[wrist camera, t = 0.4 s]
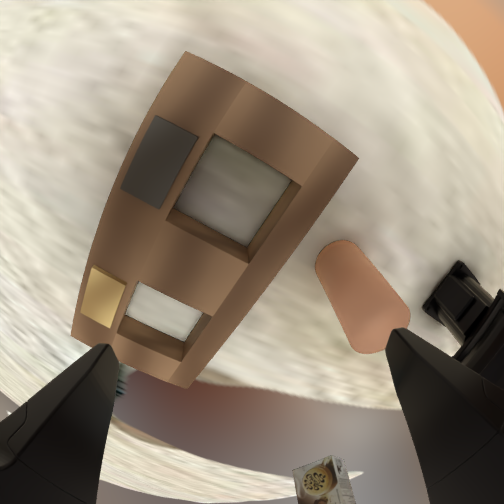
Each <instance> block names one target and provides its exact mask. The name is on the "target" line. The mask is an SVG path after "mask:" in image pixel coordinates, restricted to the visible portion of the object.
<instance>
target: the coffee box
mask: <svg viewBox="0 0 504 504" xmlns="http://www.w3.org/2000/svg"><path fill="white" fill-rule="evenodd" d="M292 471H293V476H294V482H295V488H296V494H297V499H298V504H356V502H355V499H354V495H353V491H352V487H351V484H350V480H349V476H348V473H347V469H346V465H345V462H344V459H341V458H338V457H335V456H332V455H330V456H328V457H326V458H323V459H321V460H318V461H316V462H313V463H311V464H308V465H305V466H302V467H300V468H297V469H294V470H292Z"/></svg>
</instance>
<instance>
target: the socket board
mask: <svg viewBox="0 0 504 504" xmlns="http://www.w3.org/2000/svg"><path fill="white" fill-rule="evenodd" d="M215 134H216V135H218V136H220V137H222V138H224V139H225V140H227V141H229V142H231V143H232V144H234V145H236V146H238V147H239V148H241V149H243V150H245V151H246V152H248V153H250V154H251V155H253V156H255V157H256V158H258V159H260V160H261V161H263V162H265V163H266V164H268V165H270V166H271V167H273V168H274V169H276V170H278V171H279V172H281V173H282V174H284V175H286V176H287V177H289V178H290V179H292V181H291V183H290V184H289V186H288V187H287V189H286V190H285V192H284V193H283V195H282V196H281V198H280V199H279V201H278V202H277V204H276V205H275V207H274V208H273V210H272V211H271V213H270V214H269V216H268V217H267V219H266V220H265V222H264V223H263V225H262V226H261V228H260V229H259V231H258V232H257V234H256V235H255V237H254V238H253V240H252V241H251V243H250V244H249V246H248V247H245V246H243V245H241V244H239V243H237V242H235V241H233V240H232V239H230V238H228V237H226V236H224V235H222V234H220V233H218V232H217V231H215V230H213V229H211V228H209V227H207V226H205V225H204V224H202V223H200V222H198V221H196V220H194V219H192V218H190V217H189V216H187V215H185V214H183V213H181V212H179V211H177V210H175V209H174V206H175V204H176V202H177V200H178V198H179V196H180V194H181V192H182V191H183V189H184V187H185V185H186V183H187V181H188V180H189V178H190V176H191V174H192V172H193V171H194V169H195V167H196V165H197V163H198V162H199V160H200V158H201V157H202V155H203V153H204V151H205V150H206V148H207V146H208V145H209V143H210V141H211V140H212V138H213V136H214V135H215ZM358 159H359V158H358V157H357V156H356V155H354V154H353V153H352V152H351V151H349V150H348V149H347V148H346V147H344V146H343V145H342V144H341V143H339V142H338V141H337V140H335V139H334V138H333V137H331V136H330V135H329V134H327V133H326V132H324V131H323V130H322V129H320V128H319V127H318V126H316V125H315V124H313V123H312V122H310V121H309V120H308V119H306V118H305V117H303V116H302V115H300V114H299V113H297V112H296V111H294V110H293V109H291V108H290V107H288V106H287V105H285V104H283V103H282V102H280V101H279V100H277V99H275V98H274V97H272V96H271V95H269V94H267V93H266V92H264V91H262V90H261V89H259V88H257V87H255V86H254V85H252V84H250V83H248V82H247V81H245V80H243V79H241V78H239V77H237V76H236V75H234V74H232V73H230V72H228V71H226V70H224V69H222V68H220V67H218V66H216V65H214V64H212V63H210V62H208V61H206V60H204V59H202V58H200V57H198V56H195V55H193V54H191V53H189V52H187V51H185V53H184V54H183V56H182V57H181V59H180V60H179V62H178V63H177V65H176V66H175V68H174V69H173V71H172V72H171V74H170V75H169V77H168V79H167V80H166V82H165V83H164V85H163V87H162V88H161V90H160V92H159V94H158V95H157V97H156V99H155V100H154V102H153V104H152V106H151V108H150V109H149V111H148V113H147V115H146V117H145V119H144V120H143V122H142V124H141V126H140V128H139V130H138V132H137V134H136V136H135V138H134V140H133V142H132V144H131V146H130V148H129V151H128V153H127V155H126V157H125V159H124V161H123V164H122V166H121V168H120V171H119V173H118V175H117V178H116V180H115V182H114V185H113V187H112V190H111V192H110V195H109V197H108V200H107V203H106V205H105V208H104V211H103V214H102V216H101V219H100V222H99V225H98V228H97V231H96V234H95V237H94V240H93V243H92V247H91V250H90V253H89V257H88V260H87V264H86V267H85V271H84V275H83V279H82V283H81V287H80V291H79V295H78V300H77V304H76V309H75V314H74V319H73V325H72V330H71V336H72V337H74V338H75V339H77V340H79V341H81V342H83V343H84V344H86V345H88V346H90V347H92V348H93V347H94V346H95V345H97V344H98V343H106V344H110V345H111V346H112V348H113V350H114V353H115V355H116V357H117V359H118V361H120V362H122V363H124V364H126V365H128V366H131V367H133V368H135V369H137V370H140V371H142V372H144V373H147V374H149V375H151V376H154V377H156V378H159V379H161V380H164V381H167V382H169V383H172V384H174V385H177V386H180V387H182V388H185V389H187V388H188V387H189V386H190V385H191V383H192V382H193V381H194V380H195V379H196V377H197V376H198V375H199V374H200V372H201V371H202V370H203V369H204V367H205V366H206V365H207V364H208V363H209V361H210V360H211V359H212V358H213V356H214V355H215V354H216V353H217V351H218V350H219V349H220V347H221V346H222V345H223V344H224V342H225V341H226V340H227V339H228V337H229V336H230V335H231V333H232V332H233V331H234V330H235V328H236V327H237V326H238V325H239V323H240V322H241V321H242V319H243V318H244V317H245V315H246V314H247V313H248V312H249V310H250V309H251V308H252V306H253V305H254V304H255V302H256V301H257V300H258V298H259V297H260V296H261V295H262V293H263V292H264V291H265V289H266V288H267V287H268V285H269V284H270V283H271V281H272V280H273V279H274V277H275V276H276V275H277V273H278V272H279V271H280V269H281V268H282V266H283V265H284V264H285V262H286V261H287V260H288V258H289V257H290V256H291V254H292V253H293V252H294V250H295V249H296V247H297V246H298V245H299V243H300V242H301V241H302V239H303V238H304V236H305V235H306V234H307V232H308V231H309V229H310V228H311V227H312V225H313V224H314V222H315V221H316V220H317V218H318V217H319V215H320V214H321V213H322V211H323V210H324V208H325V207H326V206H327V204H328V203H329V201H330V200H331V198H332V197H333V196H334V194H335V193H336V191H337V190H338V188H339V187H340V185H341V184H342V183H343V181H344V180H345V178H346V177H347V175H348V174H349V172H350V171H351V169H352V168H353V167H354V165H355V164H356V162H357V161H358ZM138 281H139V282H141V283H143V284H145V285H147V286H149V287H151V288H153V289H155V290H157V291H159V292H161V293H163V294H165V295H167V296H169V297H171V298H174V299H176V300H178V301H180V302H182V303H184V304H186V305H188V306H190V307H193V308H195V309H197V310H199V311H201V312H204V313H203V315H202V317H201V318H200V320H199V321H198V323H197V324H196V326H195V327H194V329H193V330H192V332H191V333H190V335H189V336H188V338H187V339H186V341H185V342H182V341H180V340H178V339H175V338H173V337H171V336H169V335H166V334H164V333H162V332H160V331H158V330H155V329H153V328H151V327H149V326H147V325H145V324H143V323H141V322H139V321H137V320H134V319H132V318H130V317H128V316H126V315H125V313H126V310H127V308H128V305H129V303H130V300H131V298H132V295H133V293H134V291H135V288H136V286H137V284H138Z"/></svg>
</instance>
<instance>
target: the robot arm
mask: <svg viewBox="0 0 504 504" xmlns="http://www.w3.org/2000/svg"><path fill="white" fill-rule="evenodd" d="M423 310H424V311H425V312H426V313H427V314H429V315H430V316H432V317H433V318H434V319H436V320H437V321H438V322H440V323H441V324H443V325H444V326H445V327H447V328H448V330H449V331H450V332H451V333H452V335H453V336H454V337H455V339H456V340H457V341H458V342H459V344H460V345H461V347H460V349H459V350H458V351H457V352H456V354H455V355H454V356H452V357H451V356H449V355H447V354H446V353H444V352H443V351H441V350H440V349H438V348H436V347H435V346H433V345H432V344H430V343H428V342H427V341H425V340H424V339H422V338H420V337H419V336H417V335H416V334H414V333H412V332H411V331H409V330H408V329H406V328H404V327H400V328H395V329H393V330H392V331H391V333H390V336H389V339H388V342H387V345H386V349H385V352H386V356H387V360H388V364H389V367H390V371H391V375H392V379H393V383H394V387H395V390H396V393H397V396H398V399H399V402H400V404H401V407H402V410H403V413H404V416H405V418H406V421H407V424H408V427H409V430H410V433H411V436H412V440H413V443H414V446H415V449H416V452H417V456H418V459H419V462H420V466H421V469H422V473H423V477H424V480H425V484H426V488H427V492H428V497H429V501H430V504H504V291H503V290H501V289H499V291H498V292H497V296H496V297H495V299H494V298H493V297H492V296H491V295H490V294H489V293H488V292H487V291H485V290H484V289H483V288H482V287H481V286H480V283H479V282H478V280H477V279H476V278H475V276H474V275H473V274H472V273H471V271H470V270H469V269H468V268H467V266H466V265H465V264H464V263H463V262H462V261H458V262H457V263H456V265H455V266H454V267H453V269H452V270H451V271H450V273H449V274H448V276H447V277H446V278H445V279H444V281H443V282H442V283H441V285H440V286H439V287H438V288H437V290H436V291H435V292H434V293H433V295H432V296H431V297H430V298H429V300H428V301H427V302H426V303H425V304H424V306H423ZM118 372H119V361H118V359H117V357H116V355H115V353H114V350H113V348H112V346H111V345H110V344H106V343H98V344H97V345H95V346H94V347H93V348H92V349H90V350H89V351H88V352H87V353H85V354H84V355H83V356H82V357H80V358H79V359H78V360H77V361H75V362H74V363H73V364H72V365H70V366H69V367H68V368H67V369H65V370H64V371H63V372H62V373H60V374H59V375H58V376H57V377H56V378H54V379H53V380H52V381H51V382H49V383H48V384H47V385H46V386H44V387H43V388H42V389H41V390H40V391H38V392H37V393H36V394H35V395H34V396H32V397H31V398H30V399H29V400H28V402H25V403H24V404H23V405H22V406H20V407H19V408H18V409H17V410H16V411H14V412H13V413H12V414H10V415H9V416H8V417H6V418H5V419H4V420H2V421H1V422H0V504H96V499H97V490H98V484H99V477H100V471H101V465H102V460H103V454H104V449H105V444H106V439H107V434H108V429H109V425H110V420H111V416H112V412H113V406H114V401H115V393H116V386H117V379H118Z"/></svg>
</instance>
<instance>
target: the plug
mask: <svg viewBox="0 0 504 504" xmlns="http://www.w3.org/2000/svg"><path fill="white" fill-rule="evenodd" d="M315 270H316V274H317V276H318V278H319V280H320V282H321V284H322V286H323V288H324V290H325V292H326V294H327V296H328V298H329V300H330V302H331V304H332V307H333V309H334V311H335V313H336V315H337V317H338V319H339V321H340V323H341V326H342V328H343V330H344V332H345V334H346V336H347V338H348V341H349V343H350V345H351V347H352V348H353V349H354V350H355V351H357V352H359V353H363V354H371V353H376V352H379V351H382V350H384V349H386V345H387V342H388V339H389V336H390V333H391V331H392V330H393V329H395V328H400V327H404V328H406V329H407V327H408V324H409V321H410V310H409V308H408V307H407V305H406V304H405V303H404V302H403V300H402V299H401V298H400V296H399V295H398V294H397V293H396V291H395V290H394V289H393V288H392V287H391V285H390V284H389V283H388V282H387V280H386V279H385V278H384V277H383V276H382V274H381V273H380V272H379V271H378V270H377V268H376V267H375V266H374V265H373V264H372V263H371V261H370V260H369V259H368V258H367V257H366V256H365V255H364V253H363V252H362V251H361V250H360V249H359V248H358V247H357V245H355V244H354V243H352V242H350V241H346V240H340V241H335V242H333V243H331V244H329V245H327V246H326V247H325V248H324V249H323V250H322V251H321V252H320V253H319V255H318V257H317V259H316V263H315Z"/></svg>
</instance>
